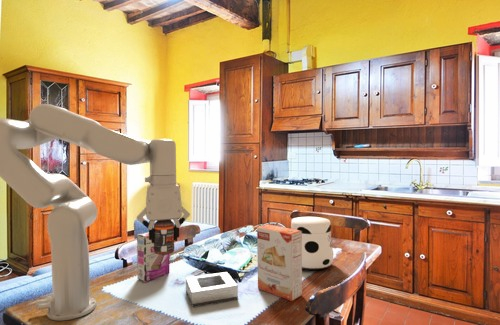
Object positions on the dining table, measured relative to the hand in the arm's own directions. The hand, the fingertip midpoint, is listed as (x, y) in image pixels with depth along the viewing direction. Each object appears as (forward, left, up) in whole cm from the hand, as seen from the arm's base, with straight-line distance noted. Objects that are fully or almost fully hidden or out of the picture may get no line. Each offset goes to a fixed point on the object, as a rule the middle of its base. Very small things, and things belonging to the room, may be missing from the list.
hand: (164, 240), depth 98 cm
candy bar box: (-2, +24, -20) cm, 31 cm away
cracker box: (+35, -5, -20) cm, 41 cm away
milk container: (+57, +13, -20) cm, 62 cm away
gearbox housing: (+14, +1, -19) cm, 24 cm away
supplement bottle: (0, 0, -4) cm, 4 cm away
